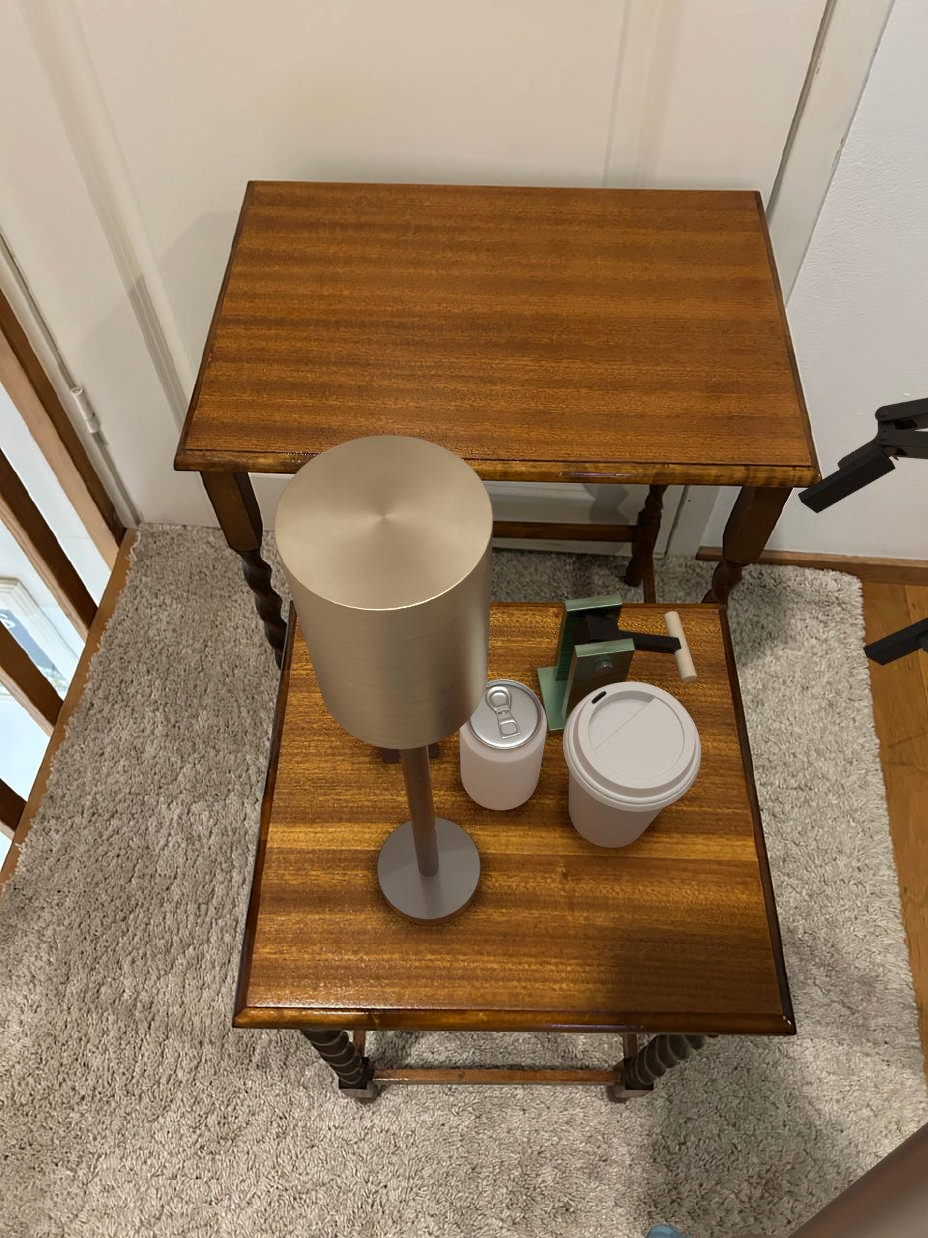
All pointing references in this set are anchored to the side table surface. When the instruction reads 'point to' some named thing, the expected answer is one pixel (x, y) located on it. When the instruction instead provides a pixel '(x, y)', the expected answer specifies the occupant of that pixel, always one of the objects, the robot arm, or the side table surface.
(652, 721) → the coffee cup
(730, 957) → the side table surface
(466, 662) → the lamp
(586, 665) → the bracket
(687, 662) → the lever
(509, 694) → the can
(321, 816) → the side table surface
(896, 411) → the robot arm
